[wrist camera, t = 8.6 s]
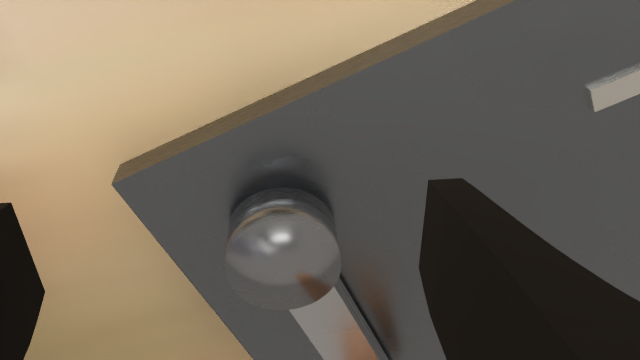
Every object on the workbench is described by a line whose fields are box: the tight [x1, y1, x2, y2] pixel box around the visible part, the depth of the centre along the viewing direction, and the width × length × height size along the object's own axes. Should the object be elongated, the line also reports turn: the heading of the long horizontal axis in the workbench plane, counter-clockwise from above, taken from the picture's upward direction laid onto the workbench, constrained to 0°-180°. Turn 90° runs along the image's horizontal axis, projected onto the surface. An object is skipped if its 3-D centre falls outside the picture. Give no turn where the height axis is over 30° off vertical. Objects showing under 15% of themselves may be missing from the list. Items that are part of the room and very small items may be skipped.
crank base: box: [112, 0, 640, 360], centre depth 20 cm, size 18×16×1 cm
